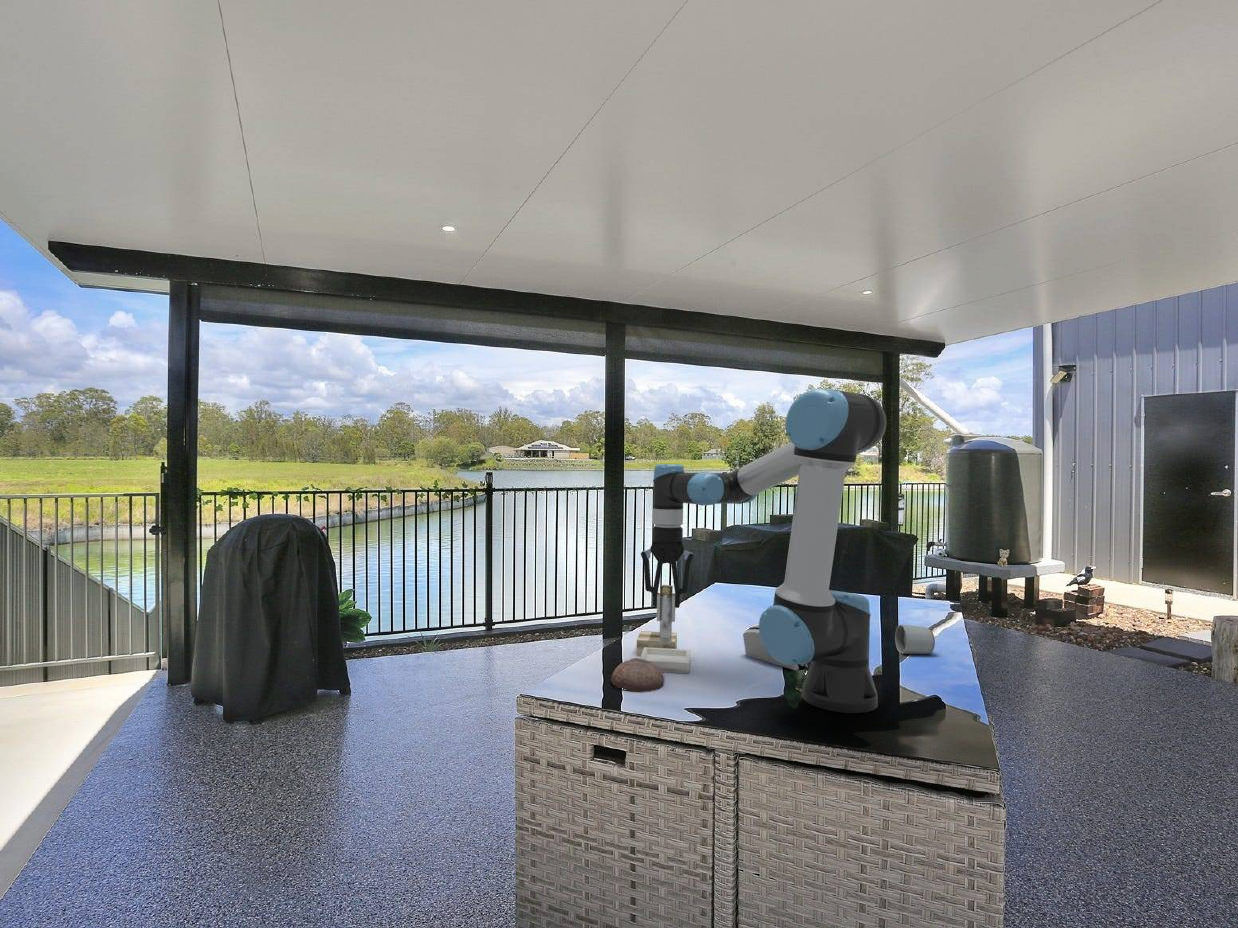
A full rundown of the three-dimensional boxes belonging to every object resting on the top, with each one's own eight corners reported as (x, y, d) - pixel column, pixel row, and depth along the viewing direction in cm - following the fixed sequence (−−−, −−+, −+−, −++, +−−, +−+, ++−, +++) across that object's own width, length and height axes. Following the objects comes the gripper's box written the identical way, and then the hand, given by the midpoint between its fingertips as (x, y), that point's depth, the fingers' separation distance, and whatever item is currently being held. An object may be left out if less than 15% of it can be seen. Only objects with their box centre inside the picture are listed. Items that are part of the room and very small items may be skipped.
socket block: (674, 657, 169) (675, 642, 169) (636, 655, 171) (636, 640, 171) (676, 647, 179) (676, 632, 179) (640, 645, 180) (640, 630, 181)
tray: (689, 673, 156) (689, 663, 156) (639, 670, 157) (639, 660, 157) (690, 659, 168) (690, 649, 168) (643, 656, 169) (643, 647, 169)
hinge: (809, 667, 163) (800, 631, 161) (797, 676, 160) (788, 640, 158) (758, 651, 176) (749, 618, 175) (746, 660, 174) (738, 626, 172)
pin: (671, 644, 161) (672, 587, 161) (659, 643, 162) (660, 586, 162) (671, 641, 164) (672, 585, 164) (659, 640, 164) (660, 584, 165)
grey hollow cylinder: (936, 657, 174) (936, 628, 174) (906, 656, 174) (906, 627, 174) (918, 647, 184) (918, 620, 185) (889, 647, 184) (889, 619, 184)
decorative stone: (620, 674, 156) (621, 650, 156) (669, 680, 152) (669, 656, 152) (603, 688, 145) (603, 663, 145) (655, 695, 141) (655, 670, 141)
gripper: (700, 525, 166) (698, 618, 166) (637, 523, 168) (635, 615, 168) (700, 528, 158) (698, 625, 158) (634, 526, 160) (632, 622, 160)
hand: (665, 620), depth 163 cm, fingers closed on pin, 3 cm apart
